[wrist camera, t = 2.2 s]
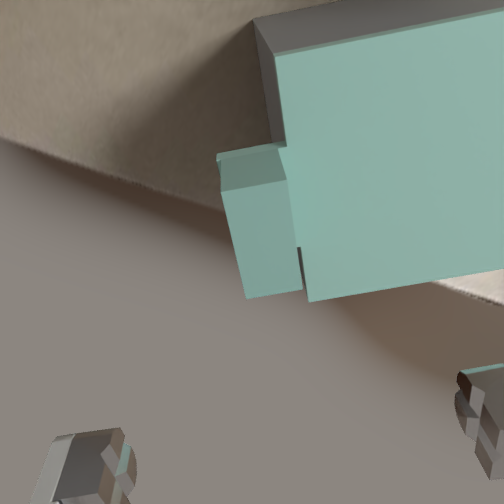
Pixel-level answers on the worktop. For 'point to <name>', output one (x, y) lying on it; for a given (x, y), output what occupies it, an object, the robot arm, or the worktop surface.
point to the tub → (342, 34)
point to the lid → (376, 163)
